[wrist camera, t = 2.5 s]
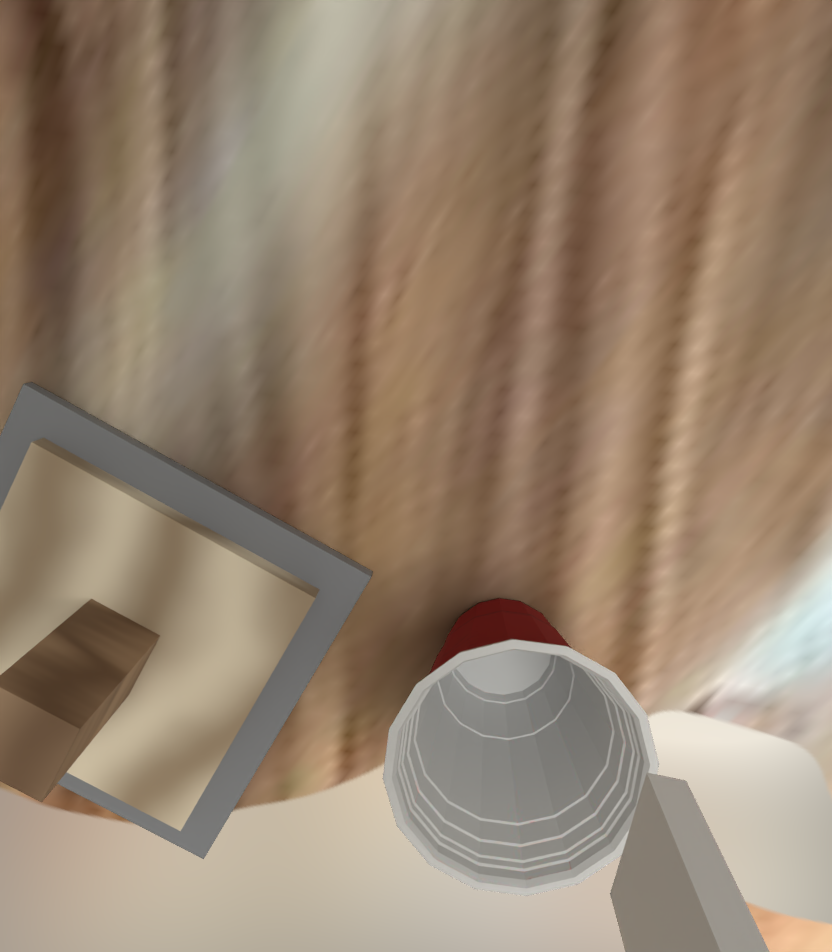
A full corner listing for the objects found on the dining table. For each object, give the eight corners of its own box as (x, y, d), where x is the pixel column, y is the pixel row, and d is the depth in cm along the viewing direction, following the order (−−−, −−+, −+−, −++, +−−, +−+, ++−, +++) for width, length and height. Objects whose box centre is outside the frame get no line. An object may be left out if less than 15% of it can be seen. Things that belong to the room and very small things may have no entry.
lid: (-70, 683, 44) (-224, 799, 34) (44, 437, 40) (-92, 485, 30) (187, 817, 45) (111, 967, 35) (319, 589, 41) (276, 683, 31)
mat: (-105, 687, 45) (-115, 694, 44) (31, 382, 40) (23, 383, 39) (207, 849, 46) (203, 859, 45) (372, 571, 42) (371, 576, 41)
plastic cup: (636, 585, 41) (707, 702, 29) (562, 759, 44) (601, 929, 32) (439, 520, 41) (433, 611, 29) (376, 698, 43) (347, 848, 32)
